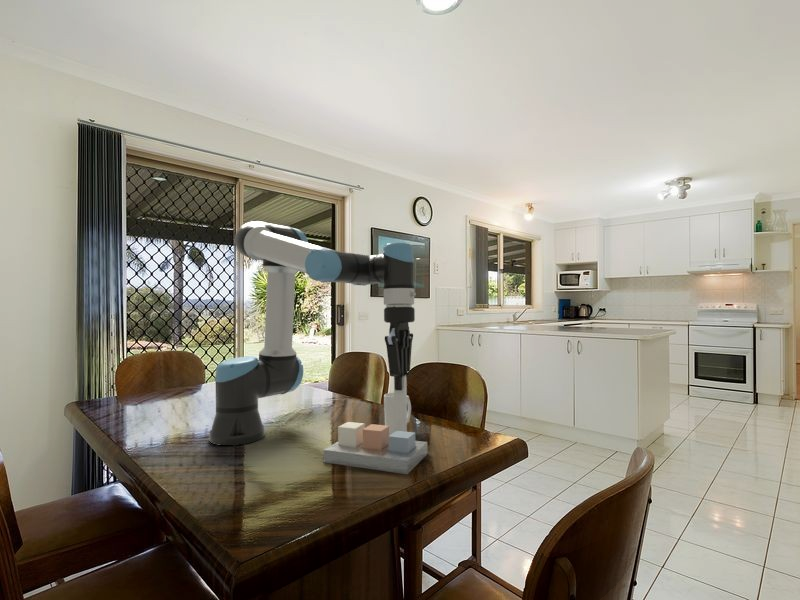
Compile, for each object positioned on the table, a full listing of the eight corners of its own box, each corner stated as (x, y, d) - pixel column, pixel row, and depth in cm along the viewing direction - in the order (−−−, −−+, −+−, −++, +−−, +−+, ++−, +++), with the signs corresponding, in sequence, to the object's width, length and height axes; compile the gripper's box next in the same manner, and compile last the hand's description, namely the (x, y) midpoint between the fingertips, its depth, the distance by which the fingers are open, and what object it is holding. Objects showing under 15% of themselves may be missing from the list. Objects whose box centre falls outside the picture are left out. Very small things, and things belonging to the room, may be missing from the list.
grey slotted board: (323, 462, 99) (323, 449, 99) (351, 444, 112) (351, 433, 112) (407, 474, 91) (407, 460, 91) (427, 453, 104) (427, 441, 104)
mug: (396, 441, 115) (395, 398, 115) (379, 436, 119) (379, 395, 120) (419, 432, 122) (418, 392, 122) (403, 428, 127) (402, 390, 127)
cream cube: (338, 446, 103) (337, 426, 103) (348, 440, 107) (347, 421, 108) (355, 448, 101) (355, 428, 101) (365, 442, 106) (364, 423, 106)
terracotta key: (362, 449, 100) (362, 429, 100) (371, 443, 105) (371, 424, 105) (381, 452, 98) (380, 431, 98) (389, 445, 103) (389, 425, 103)
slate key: (388, 457, 97) (388, 436, 98) (397, 450, 102) (396, 430, 102) (408, 459, 96) (407, 438, 96) (415, 453, 100) (415, 432, 100)
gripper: (403, 305, 93) (404, 410, 92) (422, 306, 105) (423, 398, 104) (373, 306, 95) (375, 407, 95) (395, 306, 107) (396, 396, 107)
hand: (400, 402), depth 99 cm, fingers closed
